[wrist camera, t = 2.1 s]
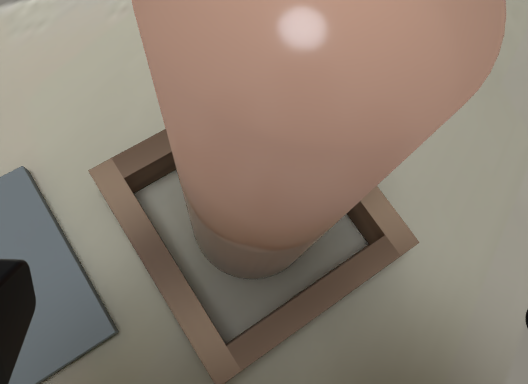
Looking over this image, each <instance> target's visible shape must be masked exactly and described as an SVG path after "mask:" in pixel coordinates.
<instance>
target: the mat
mask: <svg viewBox="0 0 528 384" xmlns="http://www.w3.org/2000/svg"><path fill="white" fill-rule="evenodd" d="M0 259H22V260H25V261H26V262H27V263H28V265H29V267H30V271H31V276H32V281H33V286H34V291H35V296H36V307H35V312H34V315H33V318H32V320H31V323H30V326H29V329H28V331H27V334H26V337H25V340H24V342H23V345H22V348H21V351H20V353H19V356H18V359H17V362H16V364H15V367H14V370H13V373H12V376H11V378H10V381H9V384H39V383H40V382H42V381H44V380H45V379H47V378H48V377H50V376H51V375H53V374H54V373H56V372H58V371H59V370H61V369H62V368H64V367H65V366H67V365H68V364H70V363H72V362H73V361H75V360H76V359H78V358H79V357H81V356H82V355H84V354H85V353H87V352H89V351H90V350H92V349H93V348H95V347H96V346H98V345H99V344H101V343H103V342H104V341H106V340H107V339H109V338H110V337H112V336H113V335H115V334H117V333H118V330H117V328H116V326H115V324H114V323H113V321H112V319H111V317H110V316H109V314H108V312H107V310H106V308H105V307H104V305H103V303H102V301H101V299H100V298H99V296H98V294H97V292H96V291H95V289H94V287H93V285H92V283H91V282H90V280H89V278H88V276H87V274H86V273H85V271H84V269H83V267H82V266H81V264H80V262H79V260H78V258H77V257H76V255H75V253H74V251H73V249H72V248H71V246H70V244H69V242H68V240H67V239H66V237H65V235H64V233H63V232H62V230H61V228H60V226H59V224H58V223H57V221H56V219H55V217H54V215H53V214H52V212H51V210H50V208H49V207H48V205H47V203H46V201H45V199H44V198H43V196H42V194H41V192H40V190H39V189H38V187H37V185H36V183H35V182H34V180H33V178H32V176H31V174H30V173H29V171H28V170H27V169H26V168H25V167H23V166H21V167H19V168H17V169H15V170H13V171H11V172H9V173H7V174H6V175H4V176H2V177H0Z"/></svg>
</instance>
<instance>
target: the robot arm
mask: <svg viewBox="0 0 528 384" xmlns="http://www.w3.org/2000/svg"><path fill="white" fill-rule="evenodd" d="M35 307H36V296H35V291H34V286H33V281H32V276H31V271H30V267H29V265H28V263H27V262H26V261H25V260H22V259H0V384H9V381H10V378H11V376H12V373H13V370H14V367H15V364H16V362H17V359H18V356H19V353H20V351H21V348H22V345H23V342H24V340H25V337H26V334H27V331H28V329H29V326H30V323H31V320H32V318H33V315H34V312H35ZM526 325H527V328H528V310H527V312H526Z"/></svg>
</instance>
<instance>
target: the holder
mask: <svg viewBox="0 0 528 384" xmlns="http://www.w3.org/2000/svg"><path fill="white" fill-rule="evenodd" d="M174 170H176V165H175V161H174V158H173V154H172V150H171V146H170V143H169V139H168V135H167V132H166V129H165V130H163V131H161V132H159V133H157V134H155V135H153V136H152V137H150V138H148V139H146V140H144V141H142V142H140V143H139V144H137V145H135V146H133V147H131V148H129V149H127V150H125V151H124V152H122V153H120V154H118V155H116V156H114V157H112V158H110V159H109V160H107V161H105V162H103V163H101V164H99V165H97V166H96V167H94V168H92V169H90V170H88V171H89V173H90V175H91V176H92V178H93V180H94V181H95V183H96V185H97V186H98V188H99V190H100V191H101V193H102V195H103V196H104V198H105V200H106V202H107V203H108V205H109V207H110V208H111V210H112V212H113V213H114V215H115V217H116V218H117V220H118V222H119V223H120V225H121V227H122V228H123V230H124V232H125V234H126V235H127V237H128V239H129V240H130V242H131V244H132V245H133V247H134V249H135V250H136V252H137V254H138V255H139V257H140V259H141V260H142V262H143V264H144V266H145V267H146V269H147V271H148V272H149V274H150V276H151V277H152V279H153V281H154V282H155V284H156V286H157V287H158V289H159V291H160V293H161V294H162V296H163V298H164V299H165V301H166V303H167V304H168V306H169V308H170V309H171V311H172V313H173V314H174V316H175V318H176V319H177V321H178V323H179V325H180V326H181V328H182V330H183V331H184V333H185V335H186V336H187V338H188V340H189V341H190V343H191V345H192V346H193V348H194V350H195V351H196V353H197V355H198V357H199V358H200V360H201V362H202V363H203V365H204V367H205V368H206V370H207V372H208V373H209V375H210V377H211V378H212V380H213V382H214V383H215V384H224V383H226V382H227V381H228V380H230V379H231V378H233V377H234V376H235V375H237V374H238V373H239V372H241V371H242V370H244V369H245V368H246V367H248V366H249V365H251V364H252V363H253V362H255V361H256V360H257V359H259V358H260V357H262V356H263V355H264V354H266V353H267V352H269V351H270V350H271V349H273V348H274V347H275V346H277V345H278V344H280V343H281V342H282V341H284V340H285V339H287V338H288V337H289V336H291V335H292V334H293V333H295V332H296V331H298V330H299V329H300V328H302V327H303V326H305V325H306V324H307V323H309V322H310V321H311V320H313V319H314V318H316V317H317V316H318V315H320V314H321V313H323V312H324V311H325V310H327V309H328V308H329V307H331V306H332V305H334V304H335V303H336V302H338V301H339V300H341V299H342V298H343V297H345V296H346V295H347V294H349V293H350V292H352V291H353V290H354V289H356V288H357V287H359V286H360V285H361V284H363V283H364V282H365V281H367V280H368V279H370V278H371V277H372V276H374V275H375V274H377V273H378V272H379V271H381V270H382V269H383V268H385V267H386V266H388V265H389V264H390V263H392V262H393V261H395V260H396V259H397V258H399V257H400V256H401V255H403V254H404V253H406V252H407V251H408V250H410V249H411V248H413V247H414V246H415V245H417V244H418V243H419V241H418V240H417V238H416V237H415V236H414V234H413V233H412V232H411V230H410V229H409V228H408V226H407V225H406V224H405V222H404V221H403V220H402V218H401V217H400V216H399V214H398V213H397V212H396V210H395V209H394V208H393V206H392V205H391V204H390V202H389V201H388V200H387V198H386V197H385V196H384V195H383V193H382V192H381V191H380V189H379V188H378V187H377V186H376V187H375V188H374V189H373V190H371V191H370V192H369V193H368V194H367V195H366V196H365V197H364V198H363V199H362V200H361V201H360V202H358V203H357V204H356V205H355V206H354V207H353V208H352V209H351V210H350V211H349V212H348V213H347V214H348V216H349V217H350V219H351V220H352V221H353V223H354V224H355V225H356V227H357V228H358V230H359V231H360V232H361V234H362V235H363V236H364V238H365V239H366V241H367V242H368V243H369V245H368V246H366V247H365V248H363V249H362V250H360V251H359V252H358V253H356V254H355V255H353V256H352V257H350V258H349V259H348V260H346V261H345V262H343V263H342V264H340V265H339V266H337V267H336V268H335V269H333V270H332V271H330V272H329V273H327V274H326V275H325V276H323V277H322V278H320V279H319V280H317V281H316V282H315V283H313V284H312V285H310V286H309V287H307V288H306V289H304V290H303V291H302V292H300V293H299V294H297V295H296V296H294V297H293V298H292V299H290V300H289V301H287V302H286V303H284V304H283V305H282V306H280V307H279V308H277V309H276V310H274V311H273V312H272V313H270V314H269V315H267V316H266V317H264V318H263V319H261V320H260V321H259V322H257V323H256V324H254V325H253V326H251V327H250V328H249V329H247V330H246V331H244V332H243V333H241V334H240V335H239V336H237V337H236V338H234V339H233V340H231V341H230V342H228V343H227V344H225V343H224V341H223V339H222V338H221V336H220V334H219V333H218V331H217V330H216V328H215V326H214V325H213V323H212V321H211V320H210V318H209V316H208V315H207V313H206V312H205V310H204V308H203V307H202V305H201V303H200V302H199V300H198V298H197V297H196V295H195V294H194V292H193V290H192V289H191V287H190V285H189V284H188V282H187V280H186V279H185V277H184V276H183V274H182V272H181V271H180V269H179V267H178V266H177V264H176V262H175V261H174V259H173V258H172V256H171V254H170V253H169V251H168V249H167V248H166V246H165V244H164V243H163V241H162V240H161V238H160V236H159V235H158V233H157V231H156V230H155V228H154V226H153V225H152V223H151V222H150V220H149V218H148V217H147V215H146V213H145V212H144V210H143V208H142V207H141V205H140V204H139V202H138V200H137V199H136V197H135V195H134V194H133V193H135V192H137V191H138V190H140V189H142V188H144V187H145V186H147V185H149V184H151V183H153V182H154V181H156V180H158V179H160V178H161V177H163V176H165V175H167V174H169V173H170V172H172V171H174Z"/></svg>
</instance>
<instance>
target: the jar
mask: <svg viewBox="0 0 528 384" xmlns="http://www.w3.org/2000/svg"><path fill="white" fill-rule="evenodd" d="M132 4H133V8H134V13H135V16H136V20H137V24H138V27H139V31H140V35H141V39H142V42H143V46H144V50H145V53H146V57H147V61H148V65H149V68H150V72H151V76H152V80H153V83H154V87H155V91H156V94H157V98H158V102H159V106H160V109H161V113H162V117H163V120H164V124H165V128H166V132H167V135H168V139H169V143H170V146H171V150H172V154H173V158H174V161H175V165H176V169H177V173H178V176H179V180H180V184H181V187H182V191H183V195H184V199H185V202H186V206H187V210H188V213H189V217H190V221H191V225H192V228H193V232H194V236H195V239H196V241H197V244H198V246H199V248H200V250H201V251H202V253H203V254H204V256H205V257H206V258H207V259H208V260H209V261H210V262H211V263H212V264H213V265H214V266H215V267H217V268H218V269H220V270H221V271H223V272H225V273H227V274H229V275H232V276H235V277H239V278H245V279H260V278H266V277H270V276H273V275H275V274H278V273H280V272H281V271H283V270H285V269H286V268H288V267H289V266H290V265H291V264H293V263H294V262H295V261H296V260H297V259H298V258H299V257H300V256H301V255H302V254H303V253H304V252H306V251H307V250H308V249H309V248H310V247H311V246H312V245H313V244H314V243H315V242H316V241H317V240H318V239H320V238H321V237H322V236H323V235H324V234H325V233H326V232H327V231H328V230H329V229H330V228H331V227H333V226H334V225H335V224H336V223H337V222H338V221H339V220H340V219H341V218H342V217H343V216H344V215H346V214H347V213H348V212H349V211H350V210H351V209H352V208H353V207H354V206H355V205H356V204H357V203H358V202H360V201H361V200H362V199H363V198H364V197H365V196H366V195H367V194H368V193H369V192H370V191H371V190H373V189H374V188H375V187H376V186H377V185H378V184H379V183H380V182H381V181H382V180H383V179H384V178H385V177H387V176H388V175H389V174H390V173H391V172H392V171H393V170H394V169H395V168H396V167H397V166H398V165H400V164H401V163H402V162H403V161H404V160H405V159H406V158H407V157H408V156H409V155H410V154H411V153H413V152H414V151H415V150H416V149H417V148H418V147H419V146H420V145H421V144H422V143H423V142H424V141H425V140H427V139H428V138H429V137H430V136H431V135H432V134H433V133H434V132H435V131H436V130H437V129H438V128H440V127H441V126H442V125H443V124H444V123H445V122H446V121H447V120H448V119H449V118H450V117H451V116H453V115H454V114H455V113H456V112H457V111H458V110H459V109H460V108H461V107H462V106H463V105H464V104H465V103H466V102H467V101H468V100H469V99H470V98H471V97H472V96H473V95H474V94H475V93H476V92H477V91H478V90H479V88H480V87H481V85H482V84H483V82H484V81H485V79H486V78H487V77H488V75H489V74H490V72H491V70H492V68H493V66H494V63H495V61H496V59H497V57H498V55H499V52H500V48H501V44H502V41H503V37H504V32H505V22H506V1H505V0H132Z"/></svg>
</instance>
